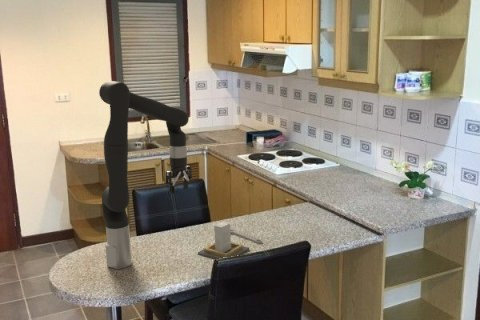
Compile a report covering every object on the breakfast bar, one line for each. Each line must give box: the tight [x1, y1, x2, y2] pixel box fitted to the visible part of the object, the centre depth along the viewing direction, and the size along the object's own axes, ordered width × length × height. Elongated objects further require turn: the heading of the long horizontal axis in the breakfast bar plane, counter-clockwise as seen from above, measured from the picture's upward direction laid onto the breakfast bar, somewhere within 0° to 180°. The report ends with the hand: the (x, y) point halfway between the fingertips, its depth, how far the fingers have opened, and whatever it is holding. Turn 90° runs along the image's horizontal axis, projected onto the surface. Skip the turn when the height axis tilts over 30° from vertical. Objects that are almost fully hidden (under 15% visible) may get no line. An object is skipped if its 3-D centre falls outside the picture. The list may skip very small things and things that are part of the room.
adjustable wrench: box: [230, 226, 263, 245], centre depth 243 cm, size 25×6×2 cm, turn 39°
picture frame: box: [197, 241, 250, 260], centre depth 226 cm, size 16×16×2 cm
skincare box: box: [214, 221, 232, 253], centre depth 224 cm, size 6×4×12 cm
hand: (179, 191), depth 230 cm, fingers open, 8 cm apart
